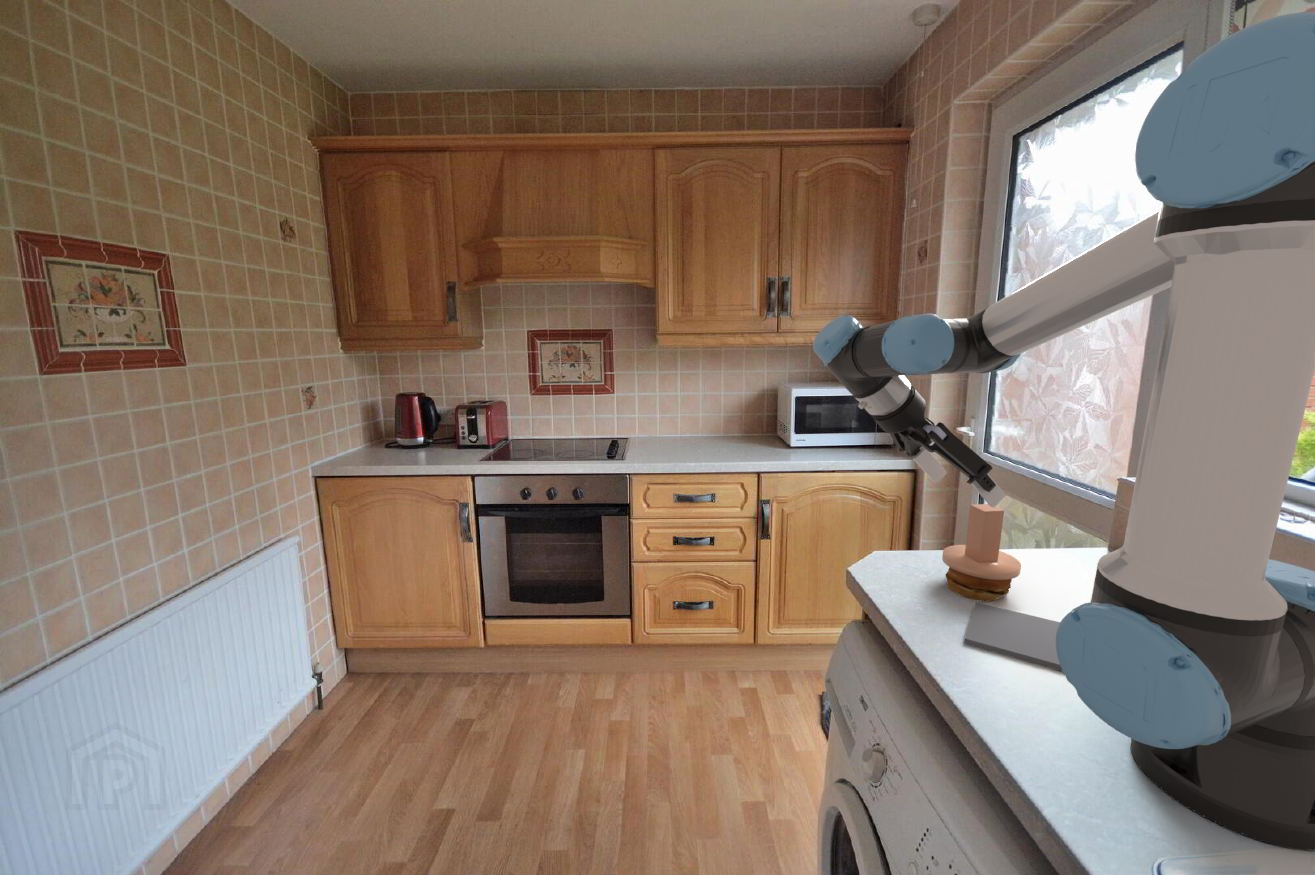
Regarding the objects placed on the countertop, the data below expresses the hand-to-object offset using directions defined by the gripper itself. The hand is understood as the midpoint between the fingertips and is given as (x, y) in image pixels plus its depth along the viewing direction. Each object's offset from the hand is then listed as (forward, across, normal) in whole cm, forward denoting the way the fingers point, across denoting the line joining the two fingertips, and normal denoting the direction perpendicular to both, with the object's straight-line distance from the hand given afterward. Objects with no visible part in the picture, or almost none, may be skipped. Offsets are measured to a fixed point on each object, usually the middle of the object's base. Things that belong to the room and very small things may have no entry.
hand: (967, 488), depth 93 cm
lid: (+12, 0, -7) cm, 14 cm away
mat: (+13, +15, -13) cm, 24 cm away
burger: (+16, 0, -10) cm, 19 cm away
